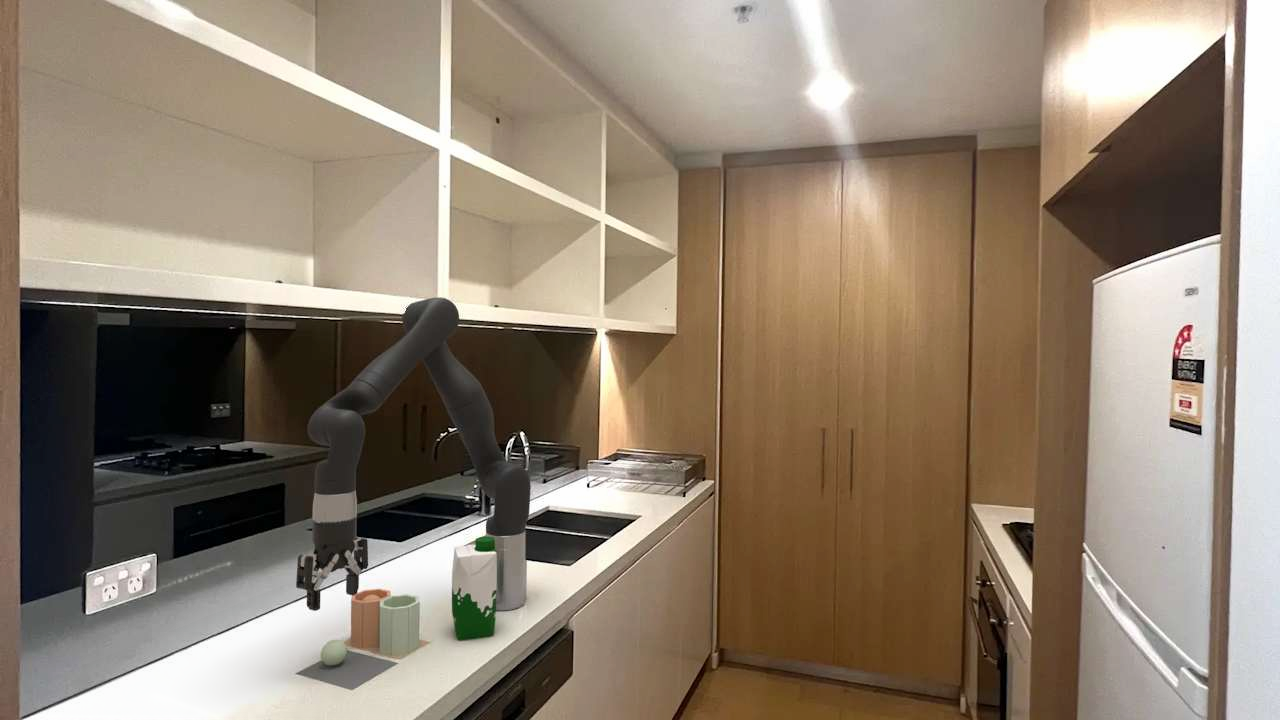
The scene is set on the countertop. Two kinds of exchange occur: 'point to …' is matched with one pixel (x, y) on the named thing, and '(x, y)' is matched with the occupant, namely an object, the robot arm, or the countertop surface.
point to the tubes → (385, 624)
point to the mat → (348, 670)
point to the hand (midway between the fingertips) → (333, 601)
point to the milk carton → (474, 589)
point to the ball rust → (371, 598)
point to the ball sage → (333, 652)
